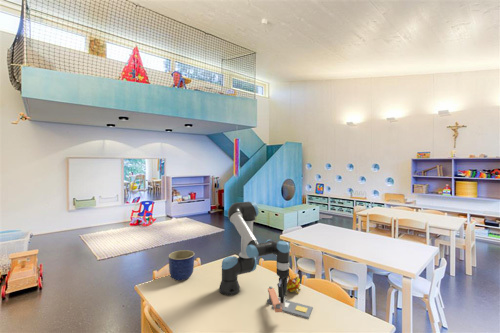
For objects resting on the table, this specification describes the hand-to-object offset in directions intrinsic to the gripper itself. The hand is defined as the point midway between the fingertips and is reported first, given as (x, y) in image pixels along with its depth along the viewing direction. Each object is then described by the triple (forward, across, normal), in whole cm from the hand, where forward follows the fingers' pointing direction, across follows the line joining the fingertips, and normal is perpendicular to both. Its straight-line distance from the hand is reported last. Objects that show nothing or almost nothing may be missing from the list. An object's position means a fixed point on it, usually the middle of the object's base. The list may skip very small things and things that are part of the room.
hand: (282, 307), depth 149 cm
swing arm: (+6, +4, +7) cm, 10 cm away
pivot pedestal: (+8, +14, +13) cm, 20 cm away
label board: (+8, +14, -2) cm, 16 cm away
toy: (+8, +36, +4) cm, 37 cm away
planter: (+8, +15, +91) cm, 93 cm away
